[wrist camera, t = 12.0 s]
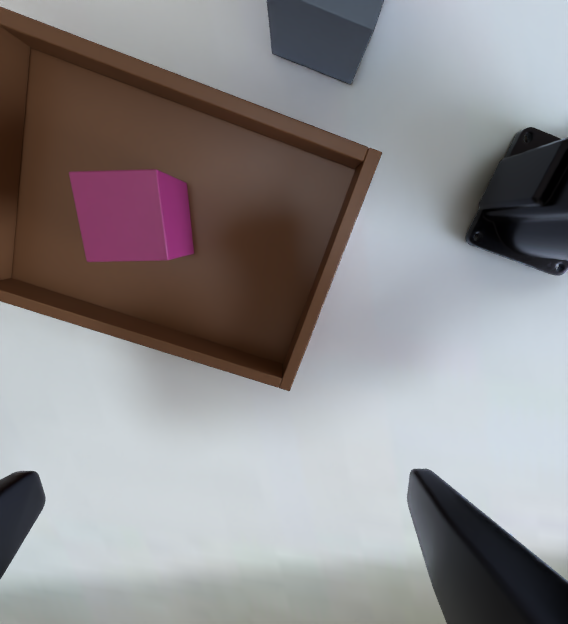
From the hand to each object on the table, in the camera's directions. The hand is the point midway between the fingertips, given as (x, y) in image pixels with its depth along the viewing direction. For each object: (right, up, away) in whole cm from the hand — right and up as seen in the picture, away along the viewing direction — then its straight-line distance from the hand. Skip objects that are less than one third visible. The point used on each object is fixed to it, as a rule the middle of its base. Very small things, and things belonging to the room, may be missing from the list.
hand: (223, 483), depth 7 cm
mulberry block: (-6, +10, +10) cm, 15 cm away
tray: (-5, +9, +11) cm, 15 cm away
